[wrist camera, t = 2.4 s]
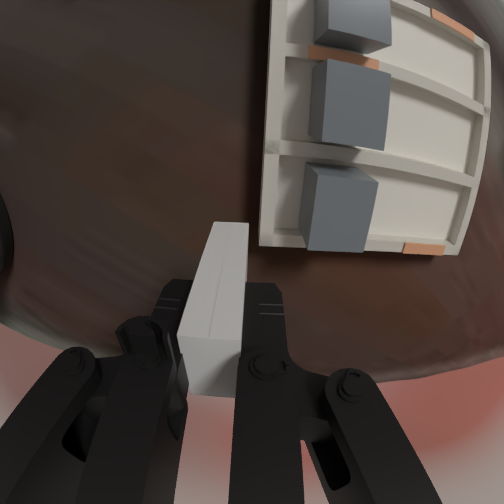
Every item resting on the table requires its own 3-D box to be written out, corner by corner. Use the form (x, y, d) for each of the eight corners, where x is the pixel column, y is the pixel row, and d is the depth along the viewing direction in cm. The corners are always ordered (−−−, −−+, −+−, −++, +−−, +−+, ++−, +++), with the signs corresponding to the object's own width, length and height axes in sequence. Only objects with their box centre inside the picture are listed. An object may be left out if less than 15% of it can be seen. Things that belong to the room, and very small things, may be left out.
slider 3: (298, 224, 21) (307, 250, 17) (305, 161, 18) (317, 174, 15) (346, 227, 21) (363, 252, 18) (356, 167, 19) (378, 182, 15)
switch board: (258, 230, 23) (259, 247, 21) (271, -21, 12) (273, -36, 10) (444, 242, 24) (458, 256, 21) (472, 45, 13) (490, 44, 10)
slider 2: (308, 134, 17) (321, 141, 14) (312, 68, 15) (327, 58, 12) (360, 142, 18) (383, 151, 14) (365, 78, 15) (391, 74, 12)
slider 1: (313, 43, 14) (328, 28, 11) (314, -11, 12) (327, -33, 8) (366, 54, 14) (391, 45, 11) (366, 1, 12) (388, -16, 8)
